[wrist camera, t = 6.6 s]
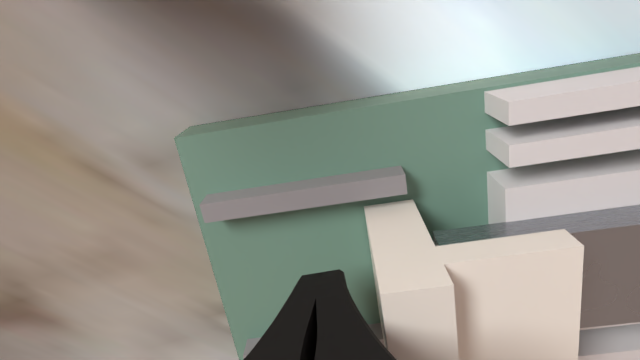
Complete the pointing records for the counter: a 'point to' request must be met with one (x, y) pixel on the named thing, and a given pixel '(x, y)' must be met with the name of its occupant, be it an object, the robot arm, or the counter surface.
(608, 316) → the strap
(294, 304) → the robot arm
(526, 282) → the clip
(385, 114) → the heatsink board
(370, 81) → the counter surface
